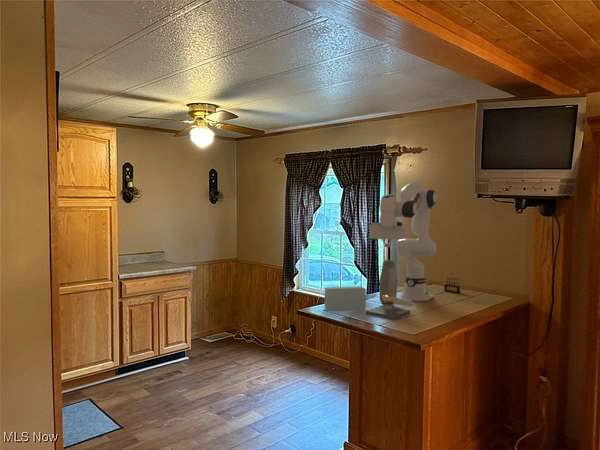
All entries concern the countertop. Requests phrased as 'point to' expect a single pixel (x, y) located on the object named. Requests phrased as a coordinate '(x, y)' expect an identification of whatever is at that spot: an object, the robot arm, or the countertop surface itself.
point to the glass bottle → (388, 279)
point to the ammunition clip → (452, 284)
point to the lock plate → (388, 312)
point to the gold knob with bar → (395, 300)
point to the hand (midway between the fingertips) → (387, 246)
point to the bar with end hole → (345, 298)
